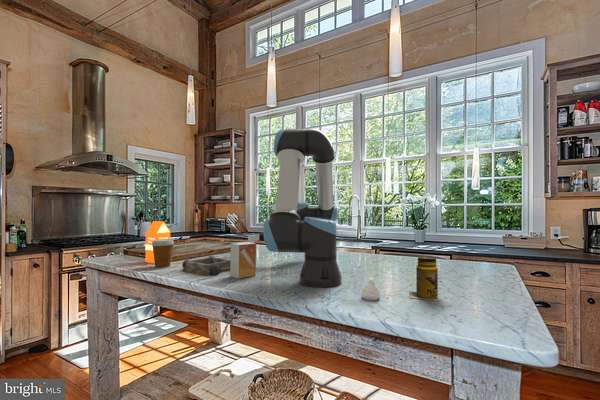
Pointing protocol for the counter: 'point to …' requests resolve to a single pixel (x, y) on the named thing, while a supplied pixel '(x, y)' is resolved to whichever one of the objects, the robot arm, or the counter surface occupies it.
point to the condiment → (426, 279)
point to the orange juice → (155, 237)
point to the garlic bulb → (370, 290)
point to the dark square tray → (207, 266)
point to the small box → (243, 260)
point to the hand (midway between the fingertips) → (260, 240)
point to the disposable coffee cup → (162, 252)
